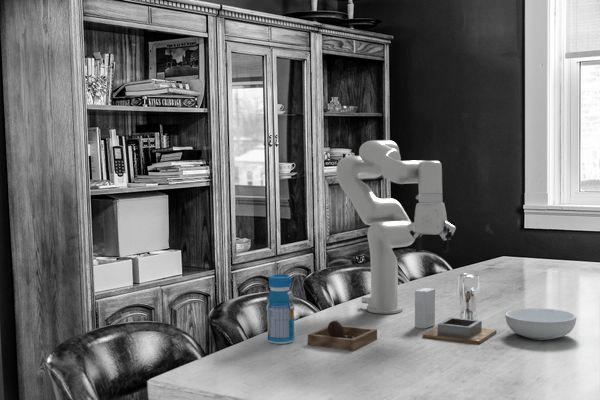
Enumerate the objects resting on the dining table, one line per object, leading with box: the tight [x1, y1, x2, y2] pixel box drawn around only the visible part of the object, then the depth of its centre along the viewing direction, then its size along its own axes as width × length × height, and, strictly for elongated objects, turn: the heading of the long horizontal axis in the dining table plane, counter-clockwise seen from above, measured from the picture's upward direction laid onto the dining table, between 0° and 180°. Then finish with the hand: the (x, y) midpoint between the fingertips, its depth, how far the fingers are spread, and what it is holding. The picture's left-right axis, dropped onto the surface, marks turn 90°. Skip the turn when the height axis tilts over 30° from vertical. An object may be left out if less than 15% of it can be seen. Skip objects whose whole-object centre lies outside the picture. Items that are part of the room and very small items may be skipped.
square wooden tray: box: [307, 324, 378, 352], centre depth 248 cm, size 15×15×3 cm
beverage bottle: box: [266, 273, 295, 345], centre depth 249 cm, size 8×8×20 cm
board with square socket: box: [422, 316, 497, 345], centre depth 254 cm, size 18×16×4 cm
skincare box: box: [414, 287, 436, 329], centre depth 266 cm, size 6×4×12 cm
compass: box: [328, 319, 355, 339], centre depth 248 cm, size 8×8×7 cm
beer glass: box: [457, 273, 480, 320], centre depth 274 cm, size 7×7×15 cm
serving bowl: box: [504, 307, 577, 341], centre depth 251 cm, size 21×21×7 cm
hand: (431, 251), depth 266 cm, fingers open, 9 cm apart
